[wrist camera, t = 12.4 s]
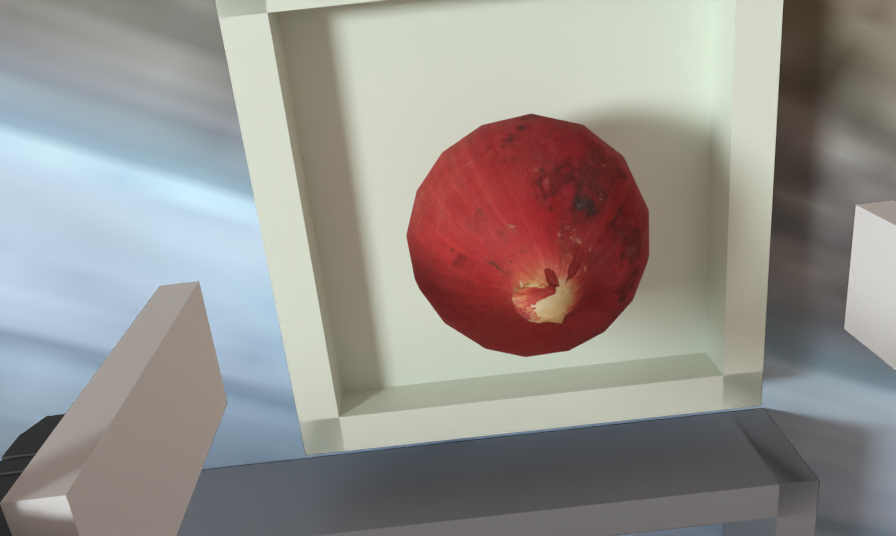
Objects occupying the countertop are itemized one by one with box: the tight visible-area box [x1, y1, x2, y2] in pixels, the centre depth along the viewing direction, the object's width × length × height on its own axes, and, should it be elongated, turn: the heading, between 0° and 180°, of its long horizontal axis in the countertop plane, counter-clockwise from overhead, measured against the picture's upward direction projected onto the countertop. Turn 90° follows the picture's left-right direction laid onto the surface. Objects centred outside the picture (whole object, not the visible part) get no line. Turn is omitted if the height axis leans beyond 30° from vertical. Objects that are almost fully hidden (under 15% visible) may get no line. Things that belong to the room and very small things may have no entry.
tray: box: [215, 0, 783, 455], centre depth 22 cm, size 14×14×2 cm
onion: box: [406, 114, 649, 357], centre depth 19 cm, size 6×6×8 cm
